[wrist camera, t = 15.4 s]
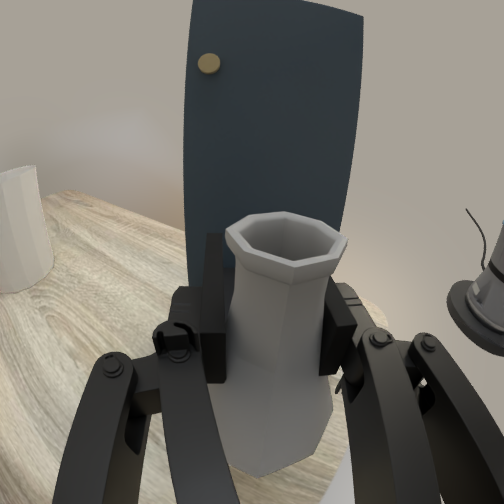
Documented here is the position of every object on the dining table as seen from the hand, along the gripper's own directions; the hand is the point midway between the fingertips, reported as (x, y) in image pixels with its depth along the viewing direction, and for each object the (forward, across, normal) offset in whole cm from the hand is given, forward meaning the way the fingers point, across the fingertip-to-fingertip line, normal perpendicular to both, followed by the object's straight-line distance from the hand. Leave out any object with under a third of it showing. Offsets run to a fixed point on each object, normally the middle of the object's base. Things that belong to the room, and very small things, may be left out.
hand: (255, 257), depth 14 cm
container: (+23, -40, -17) cm, 49 cm away
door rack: (+9, +3, -17) cm, 19 cm away
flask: (-5, 0, -6) cm, 8 cm away
